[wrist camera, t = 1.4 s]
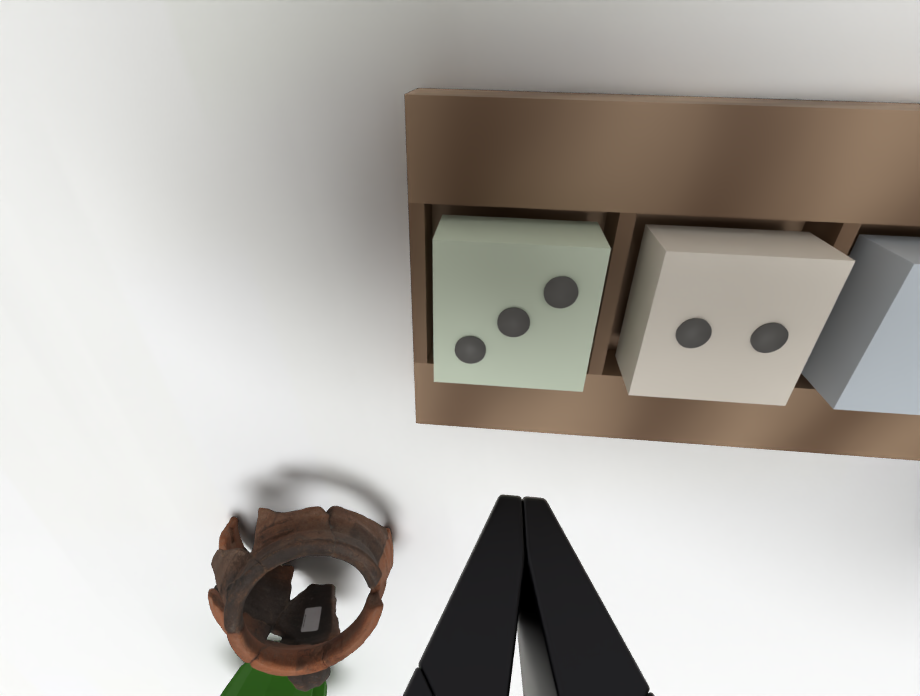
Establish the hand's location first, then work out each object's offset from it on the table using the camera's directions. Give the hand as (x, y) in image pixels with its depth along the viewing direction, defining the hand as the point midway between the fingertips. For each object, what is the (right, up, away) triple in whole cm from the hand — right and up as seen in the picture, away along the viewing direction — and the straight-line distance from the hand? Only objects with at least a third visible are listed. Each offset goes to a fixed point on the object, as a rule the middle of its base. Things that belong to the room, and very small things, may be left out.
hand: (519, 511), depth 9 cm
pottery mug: (-9, -8, +20) cm, 24 cm away
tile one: (+14, +4, +7) cm, 16 cm away
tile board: (+7, +6, +9) cm, 13 cm away
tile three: (+1, +5, +8) cm, 10 cm away
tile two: (+7, +5, +8) cm, 12 cm away
